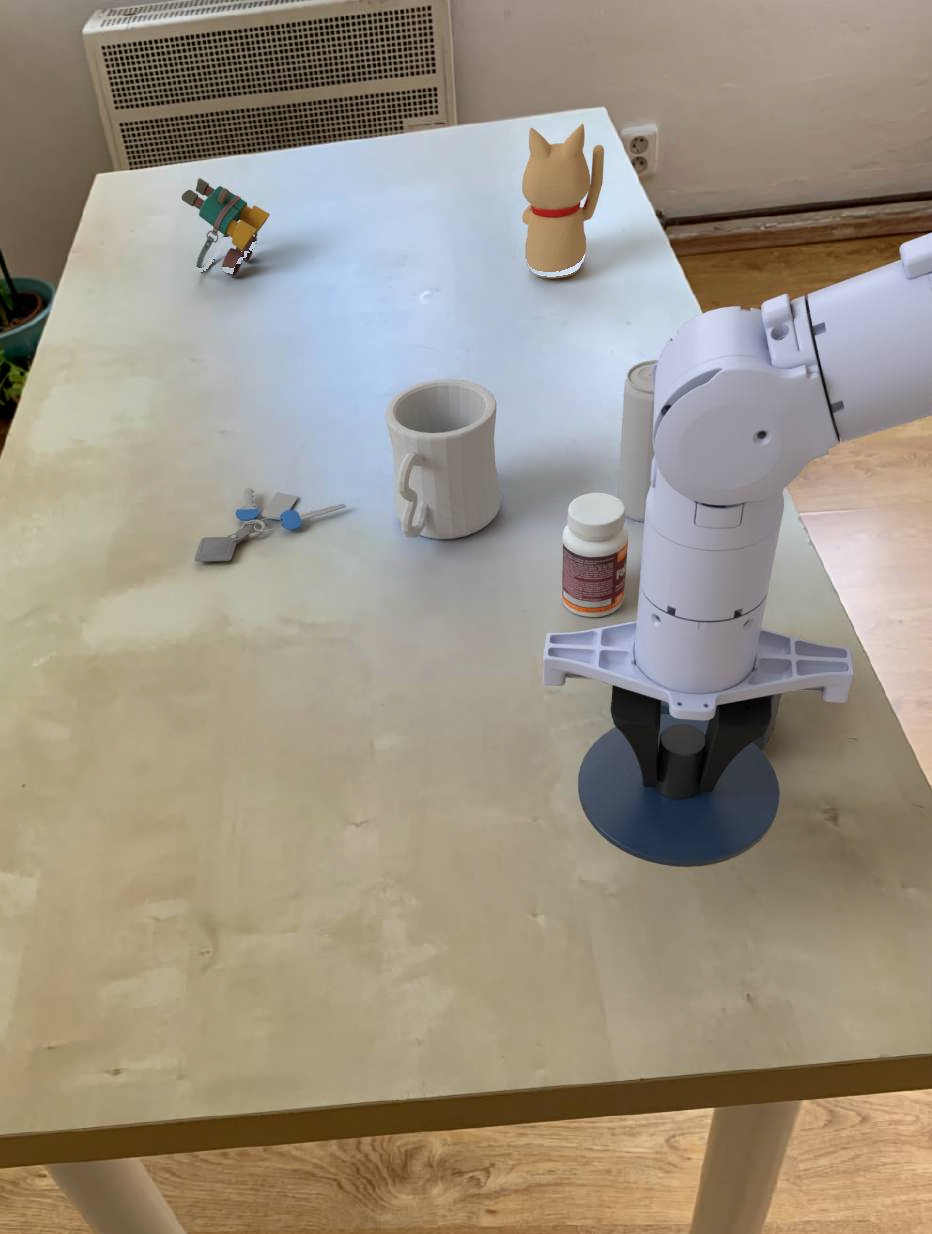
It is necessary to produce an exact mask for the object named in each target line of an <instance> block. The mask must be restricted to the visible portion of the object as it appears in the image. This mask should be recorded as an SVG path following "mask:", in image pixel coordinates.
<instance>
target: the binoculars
mask: <svg viewBox="0 0 932 1234" xmlns="http://www.w3.org/2000/svg"><path fill="white" fill-rule="evenodd" d="M197 193H198V194H197ZM199 194H200V195H201V196H205V197H206V198H205V199H203V198H201V197H200V196H199ZM181 200H182V201H183V202H185V203H186V204H187V205H189V206H190V207H192V208H193V207H194V208H196V209H198V210H199V212H198V216H199V218H201V219H203V220H204V221H205V222H206V223H208V224H209V225H210V226H212V230H208V232H206V236H205V237H206V241H205V243H204V245H203V246H202V248H201V250H200V253H199V255H198V257H197V260H196V266H195V268H196V267H198V268H202V267H203V263H204V260H205V257H206V255H207V253H208V251H209V250H210V248H211V246H212V244H213V243H214V244H216V243H218V241H219V234H218V233H221V234H222V235H223V236H222V237H221V239H222V238H223V237H229V238H231V244H232V245H234V246H235V248H234V247H230V249H228V251H227V253H226V255H225V256H224V257H223V261H222V264H221V268H222V267H229V268H234V267H235V268H234V272H233V274H230V273H226V272H224V273H225V274H226V275H228V276H229V277H231V278H232V279H234V278H235V277H236V276H237V274H238V273H239V271H240V269H241V266H242V263H243V262H244V263H248V262H249V261H250V258H251V257H252V255H253V253H254V251H253V252H252V251H250V250H249V248H250V246H251V244H252V242H255V241H257V242H258V232H259V231H260V230H261V229H262V228H263V226H264V225H265V224H266V222H267V220H268V219H269V217H270V215H271V214H270V213H269V212H267V211H265V210H264V209H262V208H261V207H259V206H257V205H253V206H252V207H250V206H248V202H247V201H245V200H244V199H242V197H241V196H239V195H237V194H234V193H233V192H231V191H230V190H229V189H227V188H226V187H223V186H221V185H219V186H217V187H215V188H214V187H212V186H210V183H208V182H207V181H206V180H204V179H203V178H201V177H199V178H198V179H197V181H196V187H195V191H194V190H193V189H187V190H186V191H184V192H183V193H182V195H181ZM210 233H211V234H212V235H213V236H215V237H216V239H215V238H214V237H213V236H210ZM252 250H253V249H252ZM241 251H242V252H241ZM244 251H249V252H250V253H247V257H246V258H243V261H242V263H241V264H236V263H237V261H238V259H239V258H240V257H244ZM213 260H214V262H215V261H216V260H215V259H213ZM212 263H213V262H212ZM213 264H214V263H213ZM208 270H209V269H206V271H204V270H203V272H204V273H206V272H207V271H208ZM199 273H200V274H203V273H202V272H199Z"/></svg>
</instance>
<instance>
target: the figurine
mask: <svg viewBox="0 0 932 1234" xmlns="http://www.w3.org/2000/svg"><path fill="white" fill-rule="evenodd" d="M585 135H586V134H585V125H584V123H581V124H580V125H579V126H577V127H576V129H574V130H573V132H572V133H571V134H570V135H569V136H568V137H567V138H566V139H565V140H564V142H563V143H562V142H561V143H558V142H557V143H551V144H550V143H549V142H548V141H547V139H546V138H545V137H544V136H543V135H542V134H540V133H539V132H538V131H537V130H536V129H535V128H533V127H530V128H529V133H528V149H529V157H528V160H527V163H526V166H525V169H524V172H523V176H522V180H521V191H522V194H523V197H524V198H525V200H526V201H527V202H528V203H529V205H528V206H527V207H526V208H525V210H524V211H523V213H522V215H521V220H522V222H523V223H524V224H526V225H527V233H526V239H525V247H524V251H525V252H524V253H525V254H524V255H525V257H524V258H525V260H526V259H527V263H528V264H529V266H530V267H532V269H535V270H537V271H543V272H556V271H559V272H560V271H562V270H565V269H568V268H570V267H573V266H575V265H576V264H577V263H579V262H580V261H581V260H582V258H583V256H584V254H585V252H586V253H587V237H586V233H585V222H586V221H589V220H591V219H592V218H593V216H594V214H595V211H596V207H597V204H598V201H599V197H600V194H601V191H602V187H603V183H604V182H603V181H604V164H605V163H604V162H605V149H604V146H603V145H602V144H596V145H595V146H594V147H593V150H592V162H591V174H590V169H589V165H588V162H587V160H586V159H587V158H586V156H585V154H584V147H585V139H586V138H585V137H586V136H585ZM585 197H586V198H585ZM584 198H585V200H584V204H583V205H582V206H581V201H582V200H583V199H584ZM527 263H526V266H527V267H528V265H527ZM580 269H581V267H580V268H579V269H578V270H577V271H575V272H573V273H571V274H568V275H563V276H556V277H547V276H540V275H537V274H534V273H533V272H532V271H530V272H531V274H532V275H534V276H535V277H538V278H543V279H561V278H567V277H570V276H573V275H575V274H576V273H577V272H578V271H580Z"/></svg>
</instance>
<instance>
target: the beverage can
mask: <svg viewBox="0 0 932 1234" xmlns="http://www.w3.org/2000/svg"><path fill="white" fill-rule="evenodd" d="M657 362H658V359H652V360H645V361H641V362H640V363H637V364H635V365H633V366H632V367H631V368H629V369H628V371H627V373H626V379H625V380H624V388H623V401H622V402H623V403H622V417H621V418H622V419H621V436H620V449H619V450H620V451H619V467H618V468H619V469H618V482H617V485H618V486H617V498H618V499H620V500H621V501H622V502H623V504H624V506H625V517H627V518H629V519H630V520H632V521H635V522H641V523H644V522H645V509H646V499H647V495H648V492H649V489H650V486H651V465H652V460H653V458H654V455H655V452H654V448H653V419H654V395H655V394H654V390H653V384H652V367H653V365H654V364H655V363H657Z"/></svg>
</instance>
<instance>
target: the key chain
mask: <svg viewBox="0 0 932 1234" xmlns="http://www.w3.org/2000/svg"><path fill="white" fill-rule="evenodd" d="M254 493H255V489H253V488H251V487H247V488H244V489H243V503H242V505H243V506H241V507H239V508H236V510H235V516H236V518H237V519H238V520H239V521H241V522H243V523H242V525H241V526H240V528H239V529H238V530H237V531H235V532H234V533H231V534H229V535H227V536H211V537H210V536H209V537H202V538H201V539H200V541H199V545H198V547H197V550H196V553H195V555H194V562H197V563H200V562H201V563H202V562H203V563H204V562H230V561H231V560H232V558H233V555H234V553H235V548H236V546H237V545H238V544H239V543H241V542H242V541H245V540H247V539H249V538H256V537H259V536H261V535H262V534H263V533H265V532H271V531H274V530H276V529H278V528H280V527H282V528H284V529H286V530H287V531H296V530H298V529H299V528H300V527H301V526H302V524H303V521H304V520H309V519H312V518H314V517H317V516H319V517H320V516H323V515H326V514H329V513H332V512H335V511H339V510H342V509H345V508H346V507H347V506H346V503H339V504H335V505H330V506H326V507H323V508H321V509H316V510H311V511H310V512H306V513H303V514H302V513H301V514H300V513H299V512H298V511H297V510H294V509H292V507H294V505H295V503H296V502H297V500H298V499H299V496H298V495H293V494H288V493H283V492H278V491H277V492H276V493H275V494H274V496H273V498H272V499H271V500H270V501H269V503H268V504H267V505H266V507H265V508H264V510H263V511H262V512H261V516H262V517H264V518H262V519H258V517H259V515H260V510H259V508H258V507H256V503H255V501H256V497H255V494H254ZM269 519H271V520H275V521H276V520H277V521H279V525H277V526H275V527H272V528H269V529H267V525H266V523H265V522H264V521H266V520H269ZM250 525H252V526H253V530H255V531H256V532H250V531H249V530H248V529H246V527H248V526H250ZM257 525H261V528H260V529H257V528H256V527H257Z"/></svg>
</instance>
